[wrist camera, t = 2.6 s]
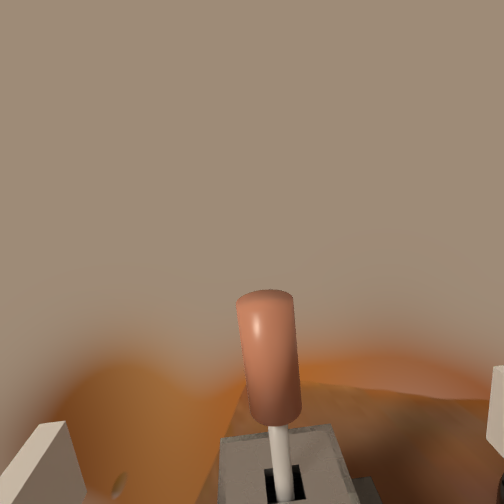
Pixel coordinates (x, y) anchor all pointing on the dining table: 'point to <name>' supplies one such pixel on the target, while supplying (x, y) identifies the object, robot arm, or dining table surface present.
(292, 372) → the salmon orange cylinder
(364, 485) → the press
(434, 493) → the dining table surface
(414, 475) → the dining table surface
